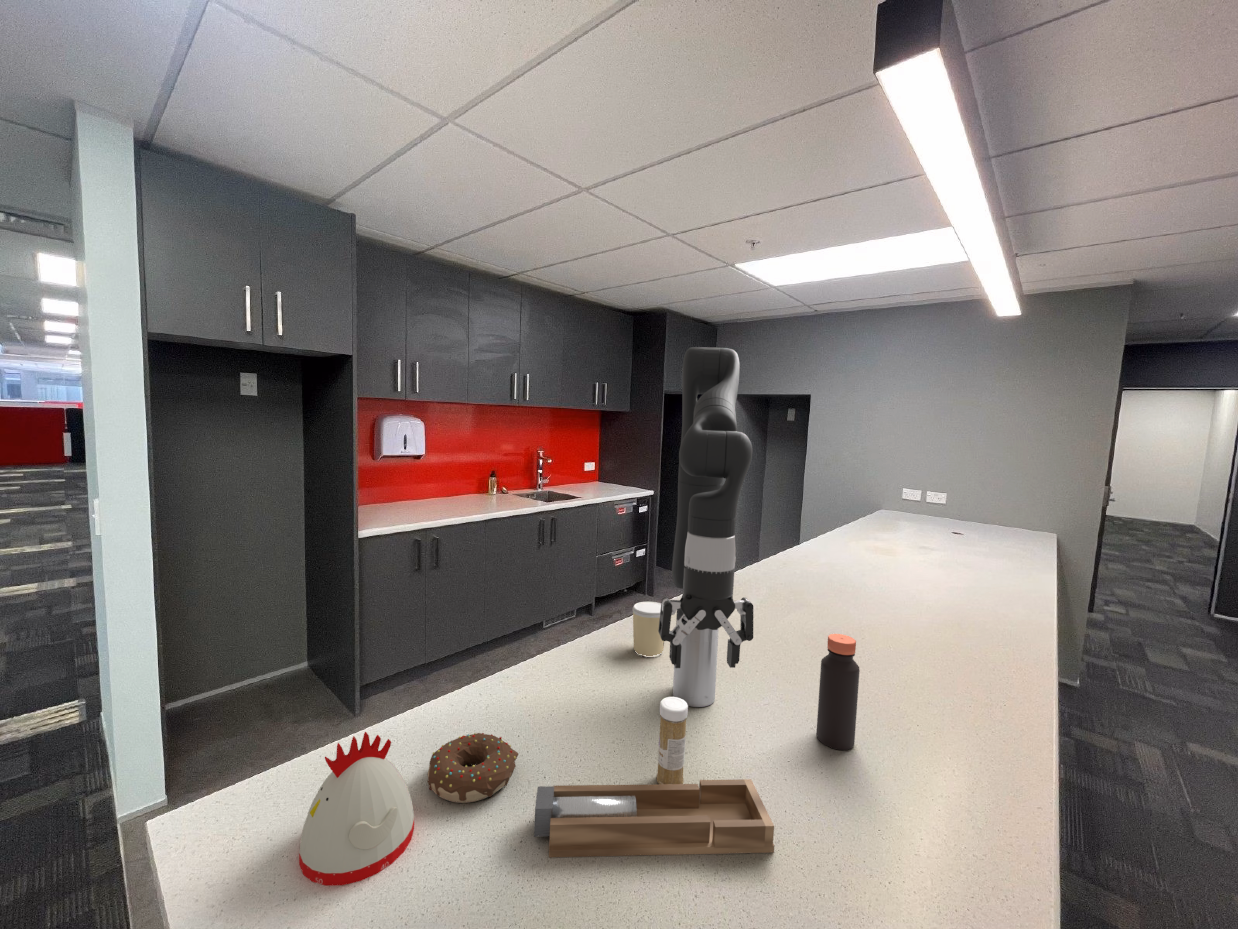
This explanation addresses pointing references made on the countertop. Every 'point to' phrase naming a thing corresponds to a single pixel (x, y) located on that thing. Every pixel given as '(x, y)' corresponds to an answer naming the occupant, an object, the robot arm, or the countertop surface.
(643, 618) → the coffee cup
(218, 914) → the countertop surface
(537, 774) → the countertop surface
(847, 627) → the countertop surface
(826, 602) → the countertop surface
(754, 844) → the tray
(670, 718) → the sprinkles bottle
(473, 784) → the donut
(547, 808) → the shaft
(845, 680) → the vinegar
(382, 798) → the kitchen timer
